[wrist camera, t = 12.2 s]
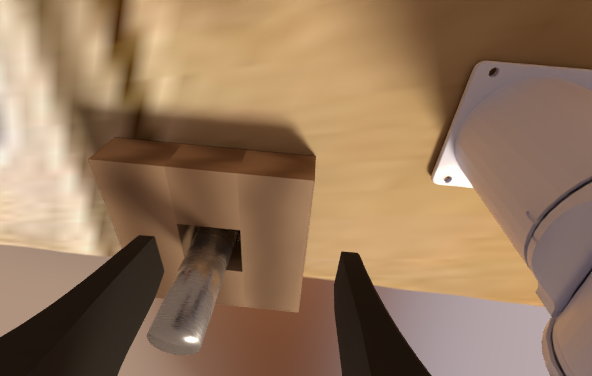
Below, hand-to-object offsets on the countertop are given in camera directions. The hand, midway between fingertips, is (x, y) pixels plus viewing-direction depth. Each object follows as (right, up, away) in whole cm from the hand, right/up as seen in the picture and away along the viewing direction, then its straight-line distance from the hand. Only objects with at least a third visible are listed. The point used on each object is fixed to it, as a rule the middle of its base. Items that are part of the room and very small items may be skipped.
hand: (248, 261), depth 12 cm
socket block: (-4, 0, +13) cm, 14 cm away
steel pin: (-4, 0, +13) cm, 14 cm away
